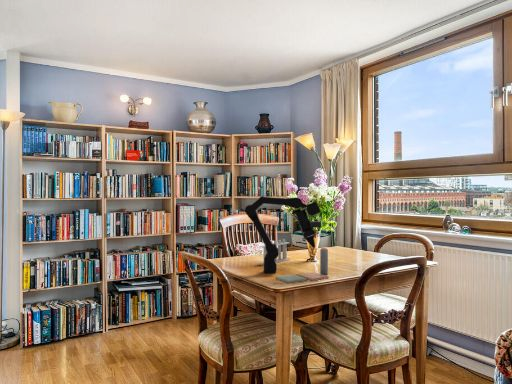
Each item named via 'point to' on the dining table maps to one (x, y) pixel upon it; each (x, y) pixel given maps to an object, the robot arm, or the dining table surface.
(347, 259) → the dining table surface
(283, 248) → the test tube rack
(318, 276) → the terracotta tile
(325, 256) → the tube
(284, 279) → the sage tile
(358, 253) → the dining table surface
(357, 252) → the dining table surface
